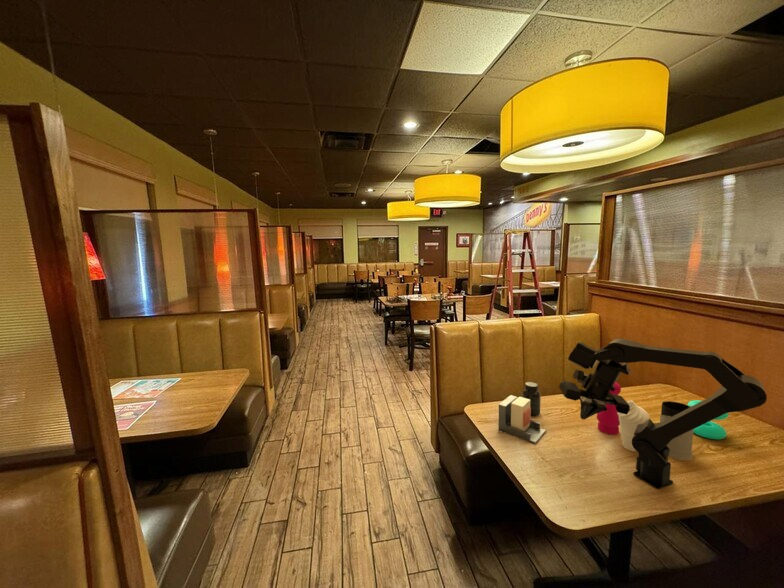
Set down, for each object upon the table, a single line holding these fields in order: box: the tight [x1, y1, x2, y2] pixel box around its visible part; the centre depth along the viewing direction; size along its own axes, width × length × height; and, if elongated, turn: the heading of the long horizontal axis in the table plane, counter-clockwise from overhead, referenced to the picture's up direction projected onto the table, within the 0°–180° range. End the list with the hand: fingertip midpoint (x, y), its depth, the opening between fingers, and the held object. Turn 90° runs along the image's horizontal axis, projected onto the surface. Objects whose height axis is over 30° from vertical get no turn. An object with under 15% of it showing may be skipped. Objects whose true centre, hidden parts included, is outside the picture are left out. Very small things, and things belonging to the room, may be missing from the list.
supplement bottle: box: [521, 381, 542, 418], centre depth 125 cm, size 7×7×12 cm
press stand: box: [497, 394, 547, 445], centre depth 113 cm, size 13×10×10 cm
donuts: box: [687, 399, 729, 440], centre depth 108 cm, size 10×10×10 cm
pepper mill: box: [596, 381, 622, 436], centre depth 111 cm, size 7×7×20 cm
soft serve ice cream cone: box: [617, 400, 651, 453], centre depth 101 cm, size 8×8×16 cm
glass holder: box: [659, 400, 694, 461], centre depth 99 cm, size 9×14×15 cm, turn 111°
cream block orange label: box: [511, 396, 532, 431], centre depth 113 cm, size 5×7×10 cm, turn 136°
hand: (582, 418), depth 99 cm, fingers closed
